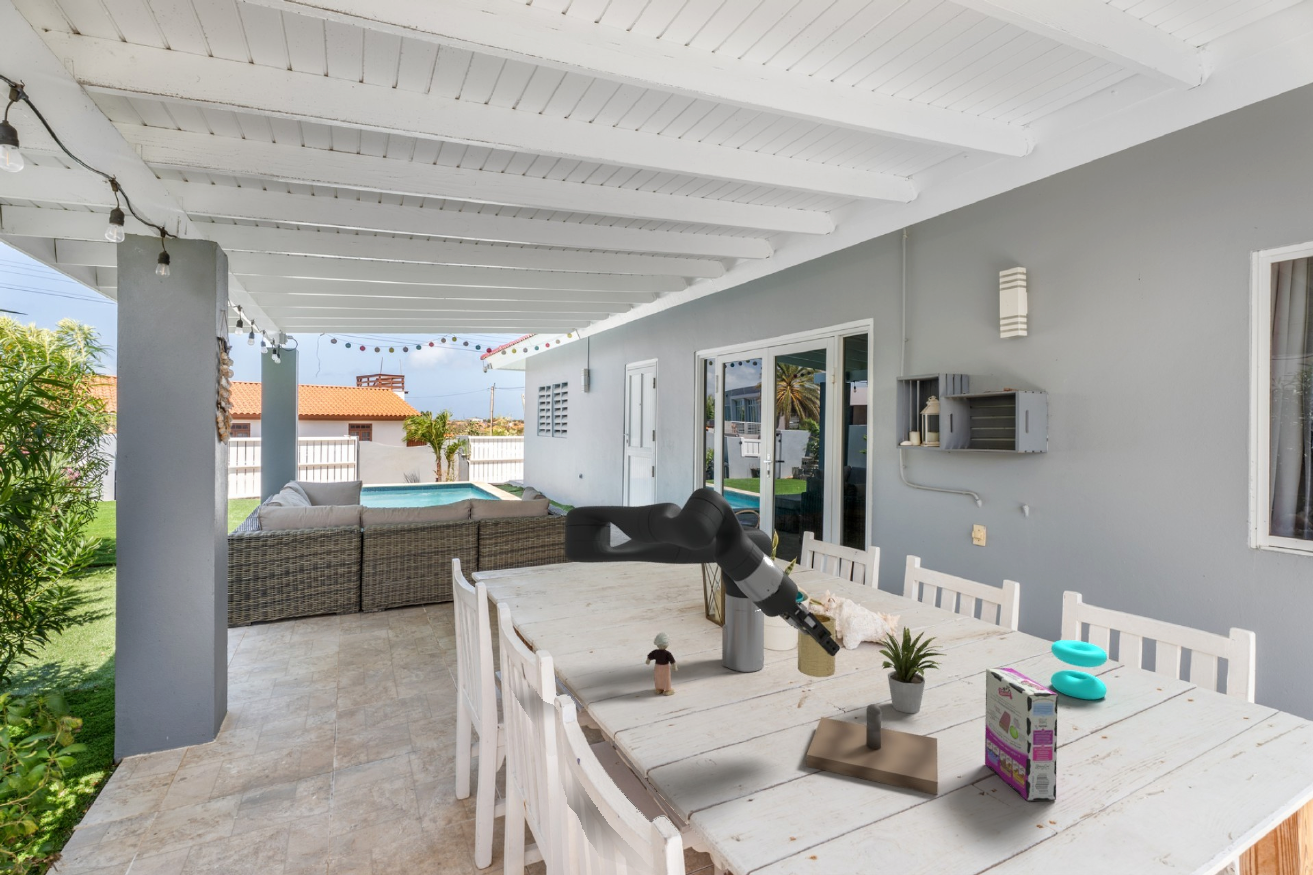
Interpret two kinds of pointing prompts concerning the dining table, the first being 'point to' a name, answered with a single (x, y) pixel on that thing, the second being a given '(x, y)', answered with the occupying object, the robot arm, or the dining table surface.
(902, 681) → the house plant
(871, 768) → the post plate
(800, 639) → the brass sleeve
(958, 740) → the dining table surface
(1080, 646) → the donuts
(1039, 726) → the candy bar box
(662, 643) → the grandmother figurine
